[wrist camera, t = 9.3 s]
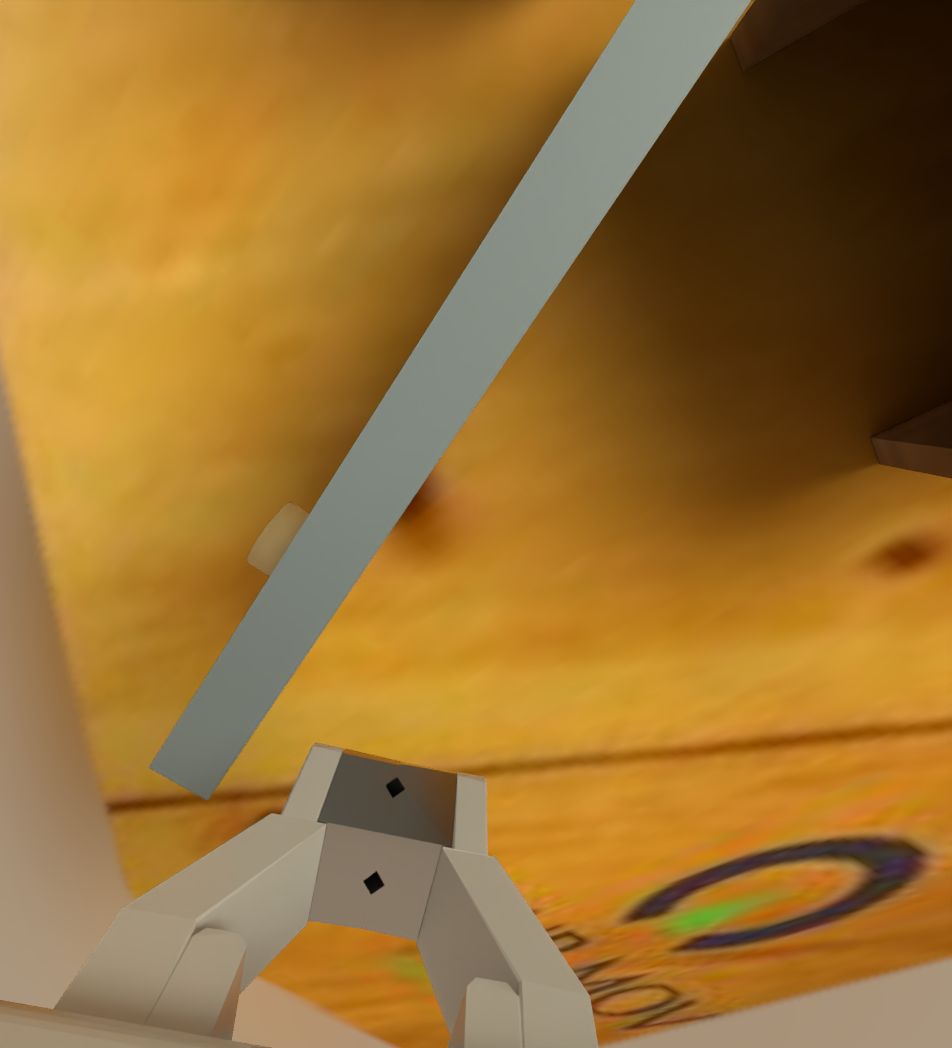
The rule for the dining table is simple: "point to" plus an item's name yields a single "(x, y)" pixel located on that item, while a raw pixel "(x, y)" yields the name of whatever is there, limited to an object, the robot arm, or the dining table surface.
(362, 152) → the dining table surface
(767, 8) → the cabinet
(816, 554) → the dining table surface
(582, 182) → the door
